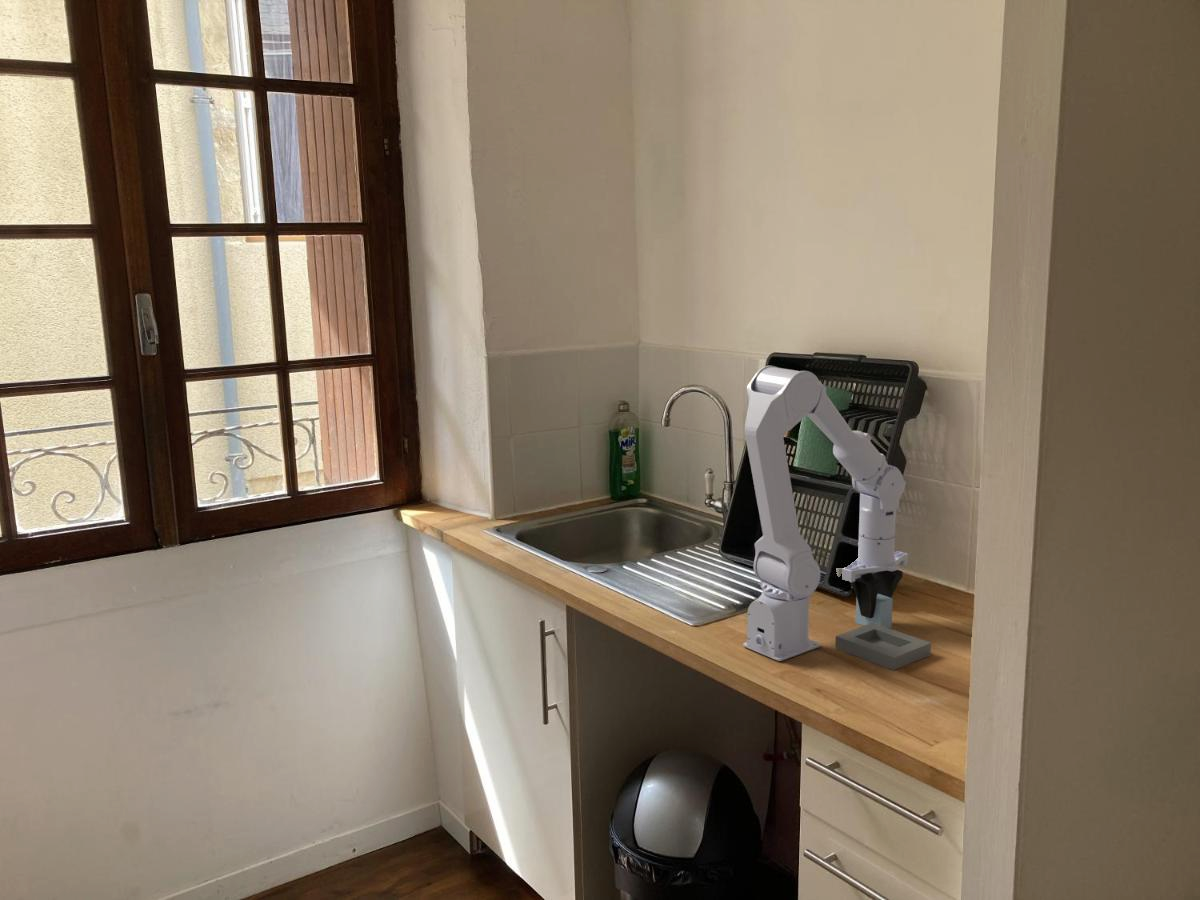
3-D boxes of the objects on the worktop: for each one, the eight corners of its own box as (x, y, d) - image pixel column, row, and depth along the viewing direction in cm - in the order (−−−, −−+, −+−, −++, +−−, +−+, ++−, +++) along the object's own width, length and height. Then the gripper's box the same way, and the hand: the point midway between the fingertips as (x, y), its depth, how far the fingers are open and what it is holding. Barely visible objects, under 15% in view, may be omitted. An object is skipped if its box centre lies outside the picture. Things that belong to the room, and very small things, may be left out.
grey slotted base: (893, 670, 147) (893, 657, 147) (835, 647, 156) (835, 635, 156) (930, 655, 153) (930, 642, 152) (872, 634, 161) (872, 622, 161)
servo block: (880, 631, 163) (881, 602, 162) (855, 622, 166) (856, 594, 165) (891, 627, 164) (892, 598, 163) (867, 618, 168) (868, 590, 167)
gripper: (868, 548, 155) (865, 631, 158) (924, 532, 163) (921, 610, 166) (832, 539, 160) (830, 618, 163) (889, 523, 169) (886, 599, 172)
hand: (873, 613), depth 165 cm, fingers closed on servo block, 3 cm apart
